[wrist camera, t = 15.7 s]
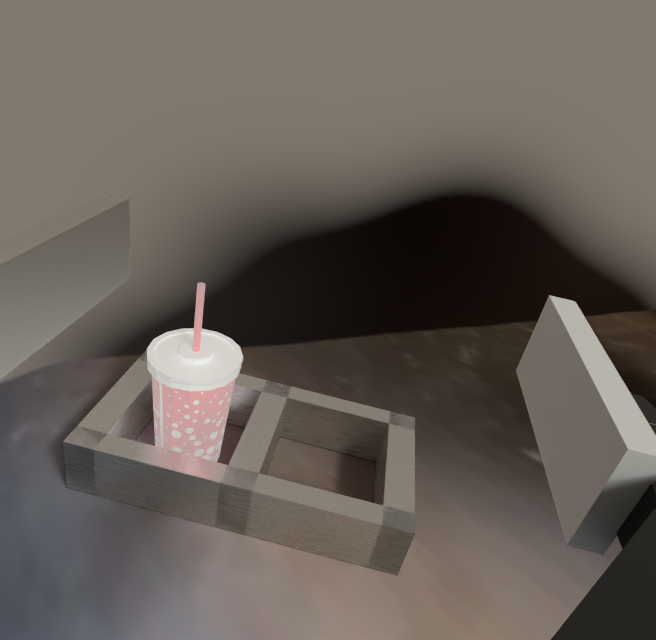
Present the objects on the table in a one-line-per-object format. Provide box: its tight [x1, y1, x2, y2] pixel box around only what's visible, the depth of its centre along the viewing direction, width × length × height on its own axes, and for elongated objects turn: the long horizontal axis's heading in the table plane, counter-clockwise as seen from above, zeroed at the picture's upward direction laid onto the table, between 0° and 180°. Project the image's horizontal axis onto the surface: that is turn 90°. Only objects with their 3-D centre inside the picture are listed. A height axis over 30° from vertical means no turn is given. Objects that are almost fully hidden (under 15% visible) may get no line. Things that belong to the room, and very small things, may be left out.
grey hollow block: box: [63, 350, 415, 575], centre depth 36 cm, size 22×11×4 cm, turn 81°
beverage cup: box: [147, 282, 243, 462], centre depth 34 cm, size 6×6×14 cm
